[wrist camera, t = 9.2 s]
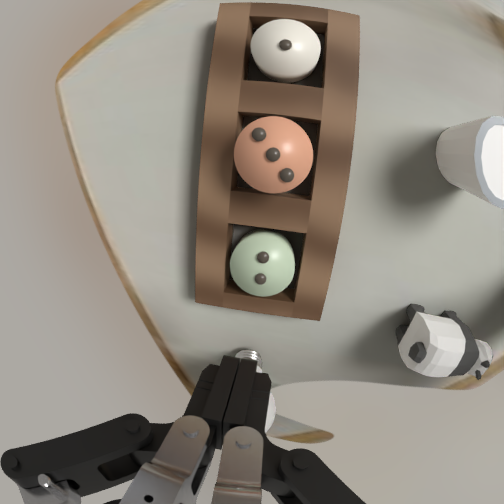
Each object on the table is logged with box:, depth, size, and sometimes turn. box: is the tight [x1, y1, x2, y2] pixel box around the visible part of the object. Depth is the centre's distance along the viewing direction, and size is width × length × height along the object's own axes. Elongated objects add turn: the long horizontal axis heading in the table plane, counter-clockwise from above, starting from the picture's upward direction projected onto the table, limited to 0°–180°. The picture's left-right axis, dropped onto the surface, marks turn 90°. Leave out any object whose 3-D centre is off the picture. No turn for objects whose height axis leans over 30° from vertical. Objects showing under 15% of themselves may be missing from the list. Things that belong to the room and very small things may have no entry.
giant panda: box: [396, 304, 493, 380], centre depth 21 cm, size 12×5×8 cm, turn 78°
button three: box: [234, 116, 313, 193], centre depth 17 cm, size 5×5×2 cm
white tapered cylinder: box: [436, 116, 504, 209], centre depth 15 cm, size 7×7×7 cm
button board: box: [195, 3, 360, 321], centre depth 20 cm, size 26×11×2 cm, turn 175°
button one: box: [251, 19, 321, 83], centre depth 16 cm, size 5×5×2 cm
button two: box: [230, 229, 295, 297], centre depth 22 cm, size 5×5×2 cm
